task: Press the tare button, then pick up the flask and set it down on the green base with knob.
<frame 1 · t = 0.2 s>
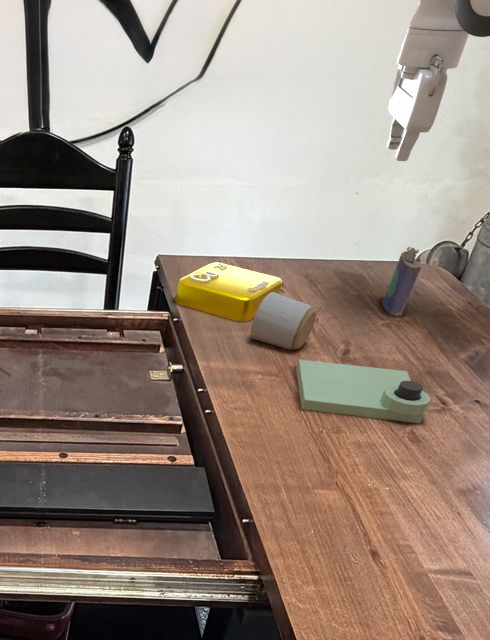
hand: (396, 154, 121), 24 cm above the table, tool pointing down, fingers open, 8 cm apart
green base with knob: (353, 396, 106), on the table
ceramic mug: (278, 342, 121), on the table
element tile: (225, 304, 134), on the table
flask: (390, 310, 132), on the table
tare button: (409, 391, 99), point 4 cm above the table, slide at 0.1 cm
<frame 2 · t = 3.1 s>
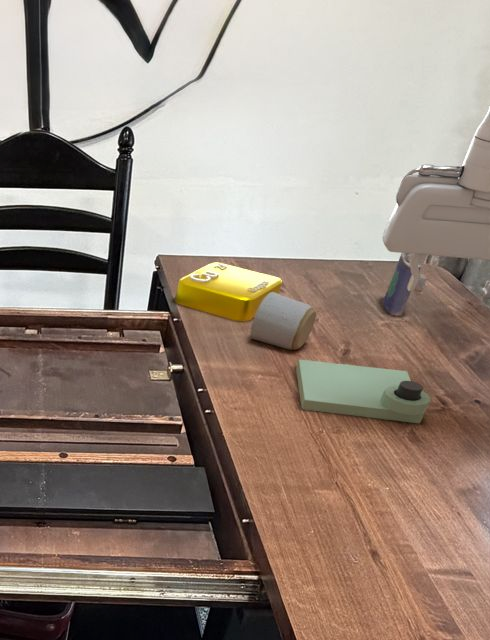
hand: (450, 294, 90), 17 cm above the table, tool pointing down, fingers open, 7 cm apart
nothing on the table moved.
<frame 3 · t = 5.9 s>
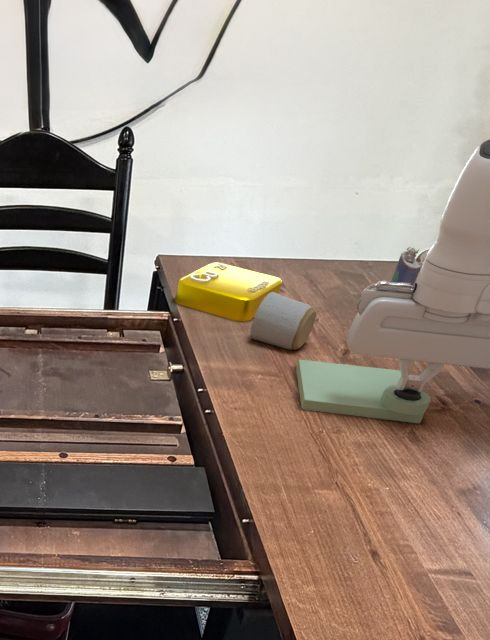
hand: (408, 389, 99), 4 cm above the table, tool pointing down, fingers closed, pressing on tare button
tare button: (407, 395, 100), point 3 cm above the table, slide at -0.6 cm, touching gripper
everything else where it was.
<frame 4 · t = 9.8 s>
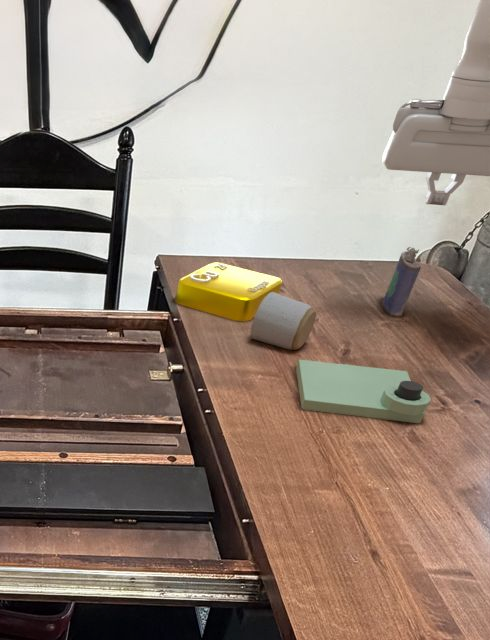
hand: (434, 204, 116), 19 cm above the table, tool pointing down, fingers closed
tare button: (409, 391, 99), point 4 cm above the table, slide at 0.1 cm
everything else where it was.
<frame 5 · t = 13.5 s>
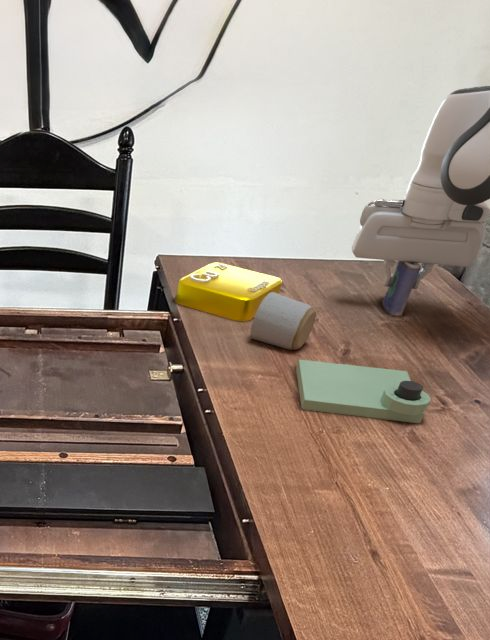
hand: (399, 286, 130), 4 cm above the table, tool pointing down, fingers closed on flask, 3 cm apart
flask: (390, 310, 132), on the table, touching gripper
everything else where it was.
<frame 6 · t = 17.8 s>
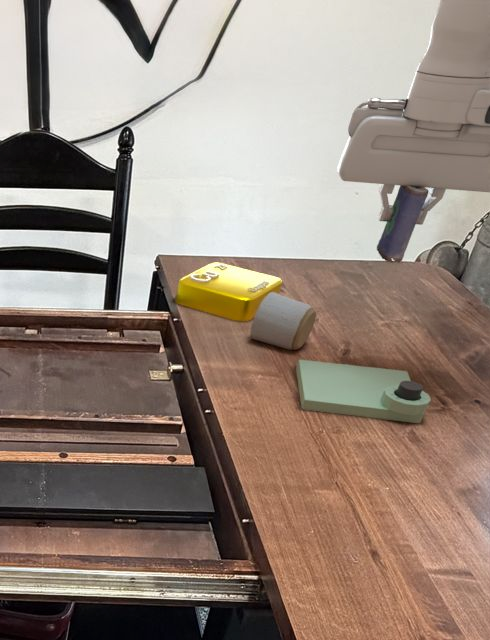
hand: (400, 222, 99), 21 cm above the table, tool pointing down, fingers closed on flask, 3 cm apart
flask: (387, 254, 102), point 17 cm above the table, touching gripper
everything else where it was.
when the fingers open (6 cm above the table, at t = 22.4 s): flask stays where it is, resting on green base with knob.
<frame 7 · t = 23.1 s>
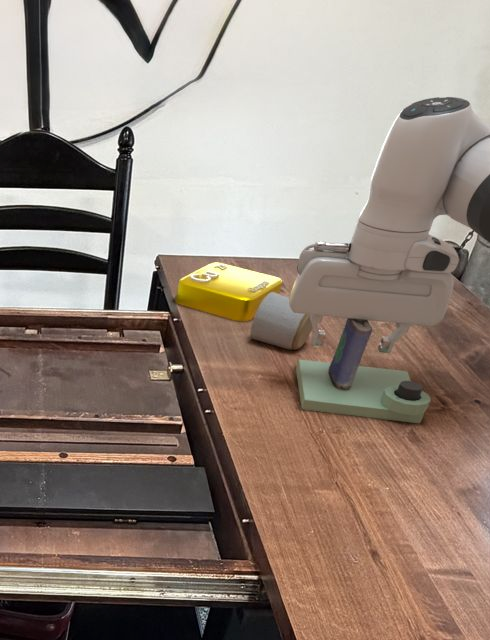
hand: (349, 347, 104), 6 cm above the table, tool pointing down, fingers open, 8 cm apart
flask: (338, 378, 107), point 2 cm above the table, touching green base with knob
everything else where it was.
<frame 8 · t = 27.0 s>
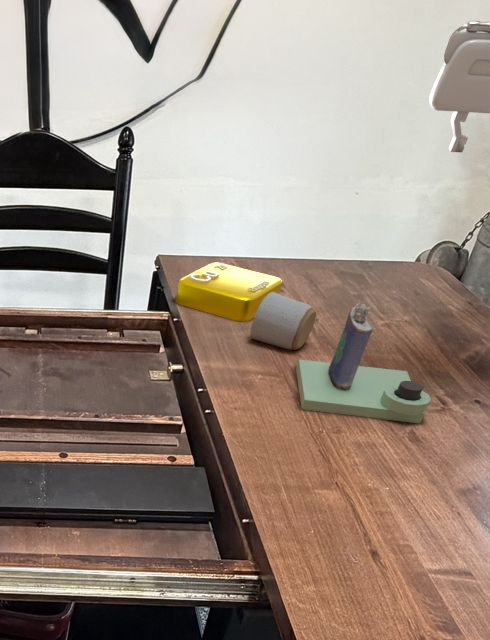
nothing on the table moved.
at the end: tare button pushed in 0.9 cm at the most during the clip, back to where it started at the end; tare button slide at 0.1 cm; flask inside the target area on the green base with knob (0.1 cm from its centre), point 1.7 cm above the green base with knob's base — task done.
